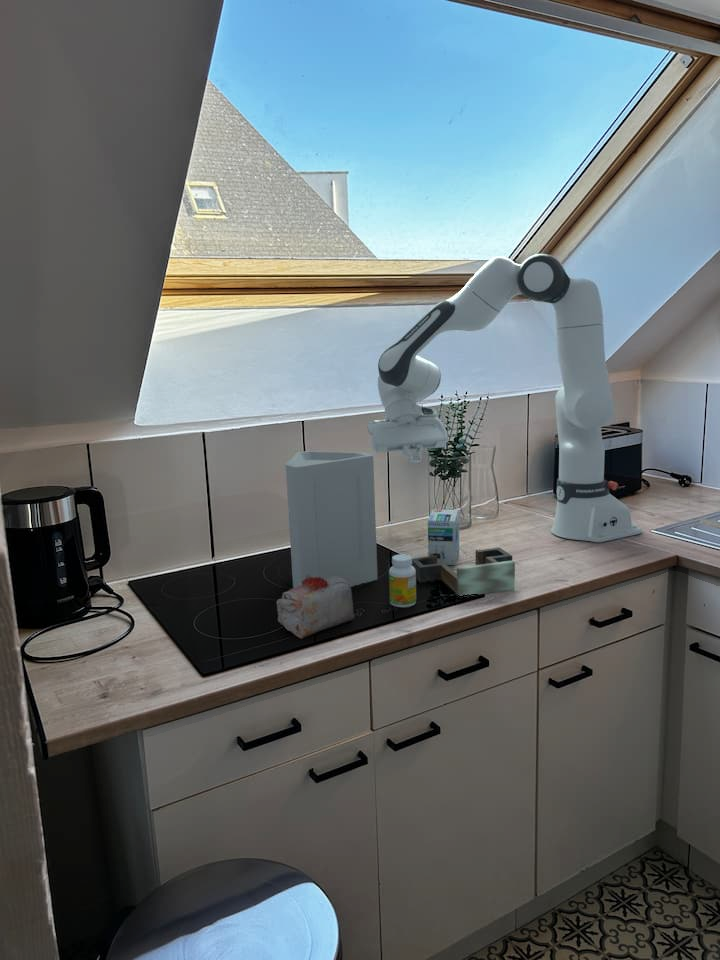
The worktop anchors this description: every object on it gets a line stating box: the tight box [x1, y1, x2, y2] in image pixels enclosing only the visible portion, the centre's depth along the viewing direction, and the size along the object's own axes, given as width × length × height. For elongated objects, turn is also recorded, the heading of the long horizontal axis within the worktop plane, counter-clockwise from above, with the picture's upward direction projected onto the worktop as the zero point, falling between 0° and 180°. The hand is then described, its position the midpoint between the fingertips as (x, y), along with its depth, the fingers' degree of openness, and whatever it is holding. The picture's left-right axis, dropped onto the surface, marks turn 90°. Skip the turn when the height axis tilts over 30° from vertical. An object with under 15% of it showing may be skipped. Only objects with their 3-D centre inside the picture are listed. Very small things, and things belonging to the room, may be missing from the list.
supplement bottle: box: [388, 553, 417, 608], centre depth 145 cm, size 5×5×10 cm
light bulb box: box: [427, 509, 460, 566], centre depth 172 cm, size 11×7×11 cm, turn 168°
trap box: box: [411, 547, 516, 597], centre depth 157 cm, size 22×17×6 cm
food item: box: [276, 574, 356, 639], centre depth 136 cm, size 14×8×10 cm, turn 129°
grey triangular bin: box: [285, 450, 379, 589], centre depth 158 cm, size 19×15×28 cm
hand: (416, 461), depth 186 cm, fingers closed
